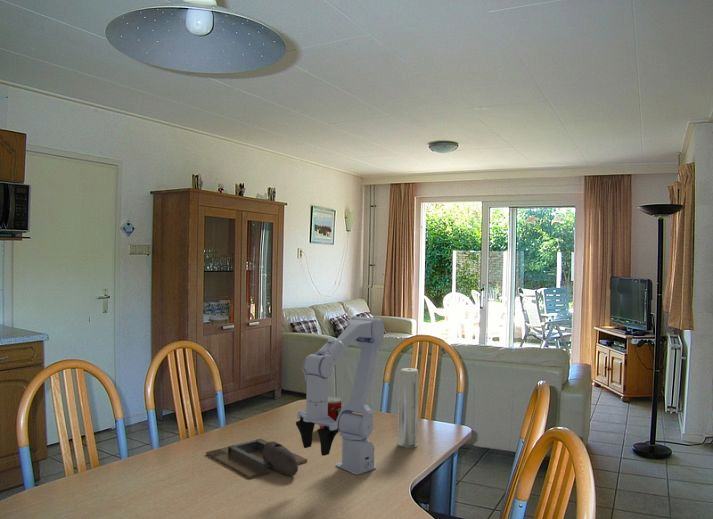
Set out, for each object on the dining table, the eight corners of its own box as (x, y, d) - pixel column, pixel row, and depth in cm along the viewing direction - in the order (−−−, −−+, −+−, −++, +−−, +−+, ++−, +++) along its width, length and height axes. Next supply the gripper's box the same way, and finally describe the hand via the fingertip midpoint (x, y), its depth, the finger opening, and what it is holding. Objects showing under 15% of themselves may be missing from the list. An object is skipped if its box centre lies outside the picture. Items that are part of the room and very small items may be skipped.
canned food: (332, 434, 195) (332, 402, 195) (314, 429, 200) (315, 399, 200) (345, 429, 201) (346, 398, 201) (328, 425, 206) (329, 395, 206)
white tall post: (417, 442, 188) (418, 367, 188) (417, 448, 182) (418, 371, 182) (398, 441, 189) (399, 366, 189) (397, 447, 182) (398, 370, 182)
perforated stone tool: (303, 477, 156) (304, 452, 156) (287, 482, 153) (288, 456, 153) (276, 461, 168) (276, 438, 168) (260, 465, 165) (261, 442, 165)
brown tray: (307, 461, 168) (307, 451, 168) (249, 478, 154) (250, 468, 154) (260, 441, 186) (261, 432, 186) (205, 454, 173) (206, 445, 173)
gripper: (288, 396, 152) (287, 447, 152) (322, 407, 141) (321, 461, 141) (309, 393, 156) (308, 441, 156) (343, 403, 146) (342, 455, 146)
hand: (316, 450), depth 149 cm, fingers open, 7 cm apart
